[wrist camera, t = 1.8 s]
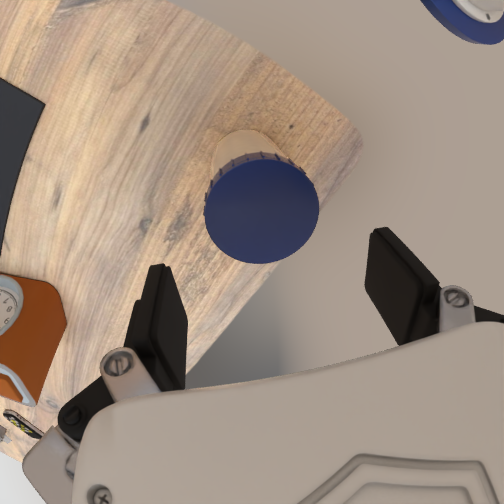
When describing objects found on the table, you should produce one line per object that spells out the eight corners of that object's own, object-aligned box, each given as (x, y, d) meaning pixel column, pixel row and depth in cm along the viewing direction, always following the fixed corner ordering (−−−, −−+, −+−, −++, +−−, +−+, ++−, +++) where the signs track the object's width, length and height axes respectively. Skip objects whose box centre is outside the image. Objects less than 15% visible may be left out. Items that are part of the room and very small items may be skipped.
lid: (250, 128, 15) (253, 133, 14) (332, 194, 18) (342, 204, 16) (183, 216, 17) (180, 228, 16) (266, 266, 20) (270, 281, 19)
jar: (239, 115, 23) (253, 136, 14) (293, 156, 25) (335, 202, 17) (197, 170, 25) (186, 224, 16) (251, 206, 28) (269, 274, 19)
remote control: (34, 433, 54) (32, 439, 53) (2, 409, 47) (0, 415, 46) (46, 434, 54) (45, 440, 52) (13, 410, 47) (11, 416, 45)
